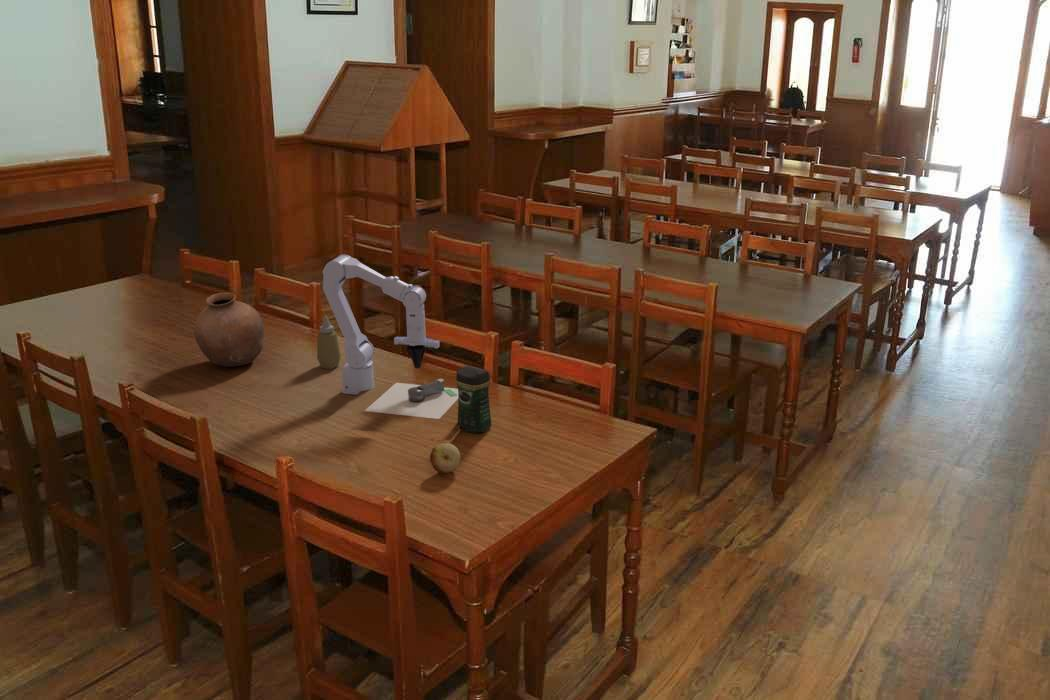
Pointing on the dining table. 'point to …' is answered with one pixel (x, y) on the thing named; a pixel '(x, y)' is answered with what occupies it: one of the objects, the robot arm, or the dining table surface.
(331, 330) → the squeeze bottle
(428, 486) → the dining table surface
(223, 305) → the pottery
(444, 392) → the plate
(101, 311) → the dining table surface
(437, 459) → the fruit
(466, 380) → the coffee jar
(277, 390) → the dining table surface
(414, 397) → the grey measuring scoop
